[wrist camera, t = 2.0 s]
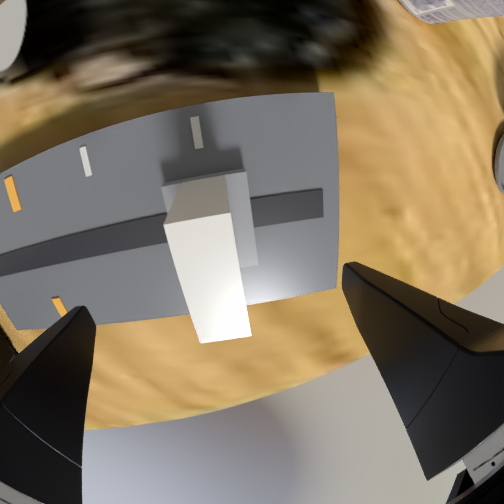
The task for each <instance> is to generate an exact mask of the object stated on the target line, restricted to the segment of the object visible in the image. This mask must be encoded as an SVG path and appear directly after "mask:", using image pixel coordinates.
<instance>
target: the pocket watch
mask: <svg viewBox="0 0 504 504" xmlns="http://www.w3.org/2000/svg"><path fill="white" fill-rule="evenodd" d="M495 178H496V183H497V185H498V188H499V190H500V191H501V192H502V193H503V194H504V134H503V135H502V137H501V138H500V140H499V143H498V146H497V149H496V156H495Z"/></svg>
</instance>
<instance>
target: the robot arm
mask: <svg viewBox="0 0 504 504" xmlns="http://www.w3.org/2000/svg"><path fill="white" fill-rule="evenodd" d="M342 290H343V292H344V295H345V297H346V300H347V302H348V305H349V308H350V310H351V313H352V315H353V318H354V321H355V323H356V325H357V328H358V330H359V332H360V334H361V336H362V338H363V339H364V341H365V343H366V345H367V347H368V349H369V351H370V353H371V355H372V357H373V359H374V361H375V363H376V365H377V367H378V369H379V371H380V373H381V376H382V378H383V379H384V382H385V384H386V386H387V388H388V390H389V392H390V395H391V397H392V399H393V401H394V403H395V405H396V408H397V410H398V412H399V414H400V417H401V419H402V421H403V423H404V426H405V428H406V429H407V430H406V431H407V433H408V435H409V437H410V440H411V442H412V445H413V447H414V449H415V452H416V454H417V457H418V459H419V462H420V464H421V467H422V470H423V472H424V475H425V477H426V479H427V481H428V480H430V479H432V478H434V477H435V476H437V475H439V474H440V473H442V472H444V471H445V470H447V469H448V468H450V467H452V466H453V465H455V464H456V463H458V462H459V461H461V460H463V462H464V464H465V466H466V469H465V470H463V471H462V472H460V473H459V474H457V477H456V480H455V482H454V485H453V488H452V490H451V493H450V495H449V498H448V500H447V502H446V504H504V324H502V323H499V322H497V321H494V320H492V319H489V318H486V317H484V316H481V315H478V314H476V313H473V312H471V311H468V310H465V309H463V308H460V307H458V306H456V305H453V304H451V303H449V302H447V301H444V300H442V299H440V298H437V297H436V296H433V295H431V294H429V293H427V292H425V291H422V290H420V289H418V288H416V287H413V286H411V285H409V284H407V283H404V282H402V281H400V280H398V279H395V278H393V277H391V276H388V275H386V274H384V273H381V272H379V271H377V270H374V269H372V268H370V267H367V266H365V265H363V264H360V263H358V262H349V263H345V264H344V266H343V273H342ZM95 336H96V324H95V321H94V320H93V318H92V316H91V314H90V312H89V310H88V309H87V307H86V306H84V305H83V306H76V307H74V308H73V309H71V310H70V311H69V312H68V313H66V314H65V315H64V316H63V317H61V318H60V319H59V320H58V321H57V322H55V323H54V324H53V325H52V326H51V327H49V328H48V329H47V330H46V331H45V332H43V333H42V334H41V335H40V336H39V337H38V338H36V339H35V340H34V341H33V342H32V343H31V344H29V345H28V346H27V347H26V348H25V349H24V350H23V351H21V352H20V353H19V354H17V353H16V351H15V350H14V349H13V347H12V346H11V344H10V343H9V342H8V340H7V339H6V337H5V336H4V334H3V333H2V331H1V330H0V504H82V468H81V467H82V449H83V435H84V423H85V414H86V405H87V397H88V390H89V384H90V378H91V372H92V365H93V355H94V345H95Z"/></svg>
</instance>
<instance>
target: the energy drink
mask: <svg viewBox="0 0 504 504" xmlns="http://www.w3.org/2000/svg"><path fill="white" fill-rule="evenodd" d="M398 1H399V2H400V3H401V5H402V6H403V7H404V8H405V9H406V10H407V11H408V12H410V13H411V14H412V15H413V16H415V17H416V18H418V19H419V20H422V21H424V22H426V23H429V24H439V23H445V22H451V21H457V20H464V19H473V18H483V17H497V16H504V0H398Z"/></svg>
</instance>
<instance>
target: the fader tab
mask: <svg viewBox="0 0 504 504" xmlns="http://www.w3.org/2000/svg"><path fill="white" fill-rule="evenodd" d="M161 190H162V194H163V198H164V202H165V207H166V211H167V217H166V220H165V222H164V229H165V233H166V236H167V240H168V244H169V247H170V251H171V254H172V258H173V261H174V265H175V268H176V271H177V275H178V278H179V281H180V284H181V287H182V291H183V294H184V297H185V300H186V303H187V306H188V309H189V312H190V315H191V318H192V321H193V324H194V327H195V329H196V332H197V335H198V338H199V341H200V343H208V342H215V341H222V340H228V339H235V338H241V337H247V336H251V330H250V325H249V319H248V313H247V308H246V302H245V296H244V290H243V284H242V278H241V273H240V268H243V267H249V266H255V265H258V257H257V249H256V242H255V234H254V226H253V218H252V211H251V203H250V195H249V188H248V180H247V172H246V170H245V168H243V169H236V170H230V171H224V172H218V173H212V174H206V175H201V176H195V177H190V178H185V179H180V180H175V181H170V182H165V183H163V185H162V186H161Z"/></svg>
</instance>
